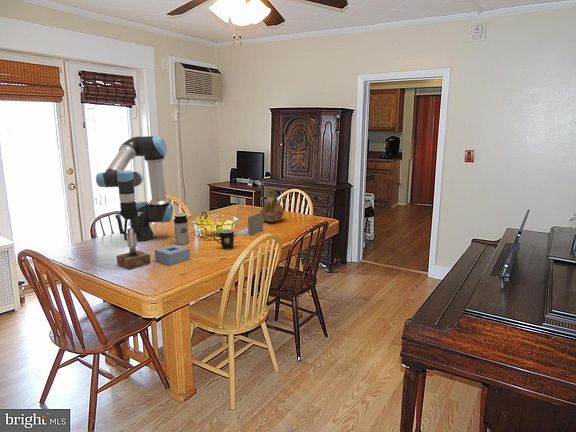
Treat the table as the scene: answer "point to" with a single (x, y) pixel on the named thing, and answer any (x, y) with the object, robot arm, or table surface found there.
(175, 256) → the socket block
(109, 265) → the table surface
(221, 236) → the coffee mug
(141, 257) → the block
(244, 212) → the table surface
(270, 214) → the ceramic vessel
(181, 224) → the travel mug
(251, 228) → the laptop
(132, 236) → the pin
